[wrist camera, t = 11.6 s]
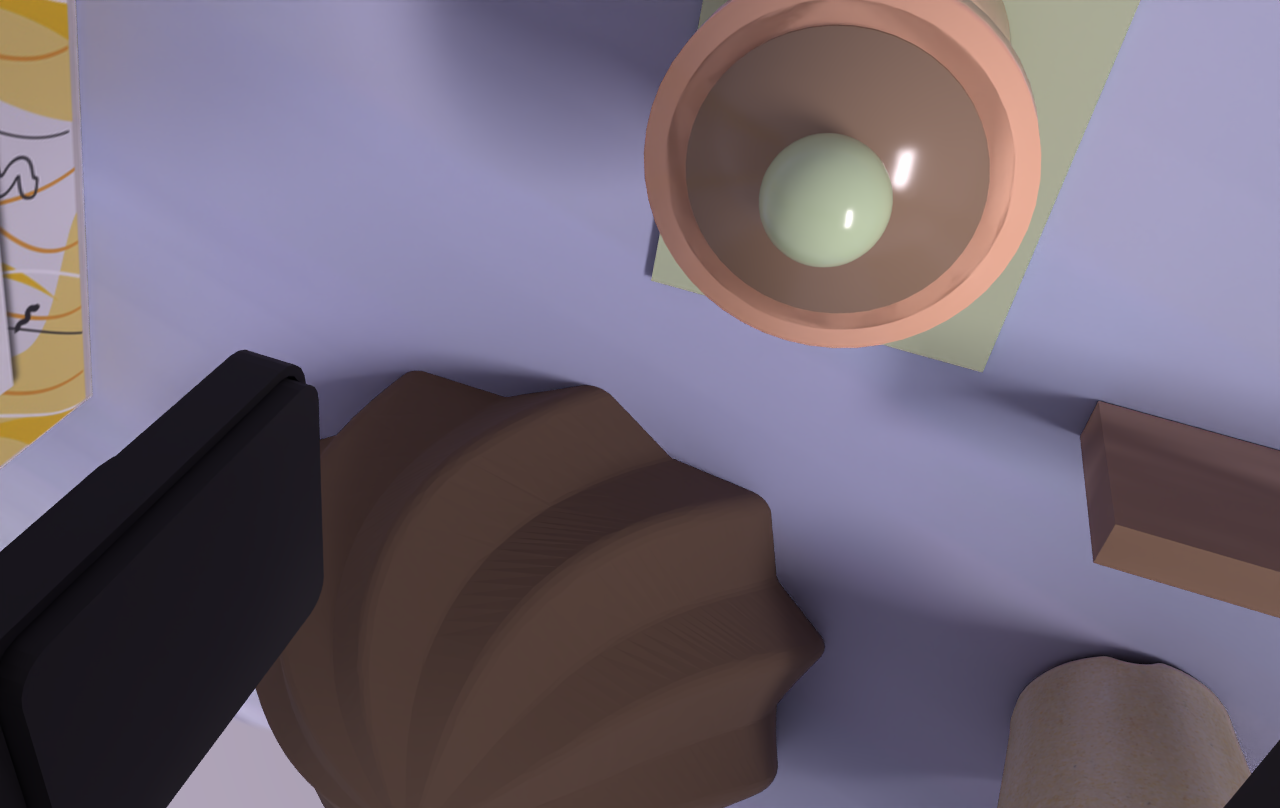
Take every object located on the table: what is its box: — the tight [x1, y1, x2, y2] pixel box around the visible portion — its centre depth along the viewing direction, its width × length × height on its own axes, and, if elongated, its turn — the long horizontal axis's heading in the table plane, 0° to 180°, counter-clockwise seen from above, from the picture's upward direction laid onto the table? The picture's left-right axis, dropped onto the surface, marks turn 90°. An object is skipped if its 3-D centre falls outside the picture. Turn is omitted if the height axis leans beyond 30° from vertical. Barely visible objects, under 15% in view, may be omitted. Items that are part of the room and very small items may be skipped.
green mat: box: [651, 0, 1140, 373], centre depth 24 cm, size 14×9×1 cm, turn 171°
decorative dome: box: [256, 371, 825, 808], centre depth 34 cm, size 19×20×10 cm
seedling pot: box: [644, 0, 1041, 348], centre depth 21 cm, size 7×7×9 cm
